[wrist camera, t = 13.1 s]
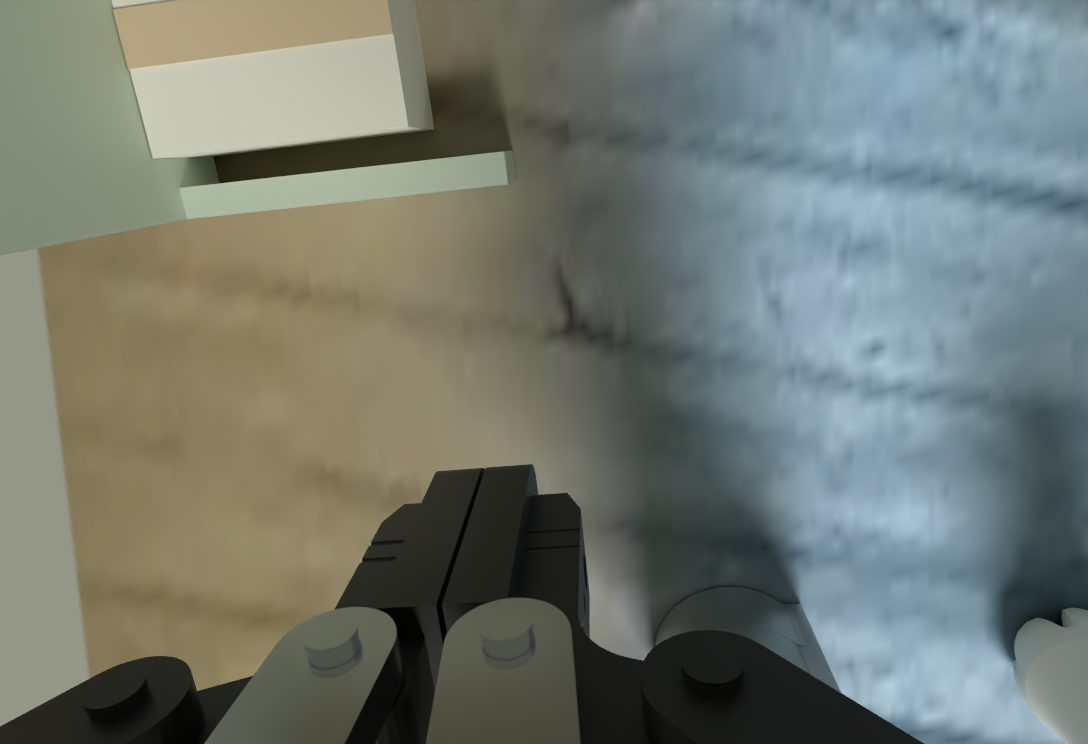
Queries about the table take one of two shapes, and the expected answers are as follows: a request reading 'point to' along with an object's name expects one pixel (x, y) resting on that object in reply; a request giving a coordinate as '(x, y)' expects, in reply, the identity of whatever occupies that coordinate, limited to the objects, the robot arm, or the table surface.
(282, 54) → the carton
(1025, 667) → the water bottle
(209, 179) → the display stand
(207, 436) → the table surface
